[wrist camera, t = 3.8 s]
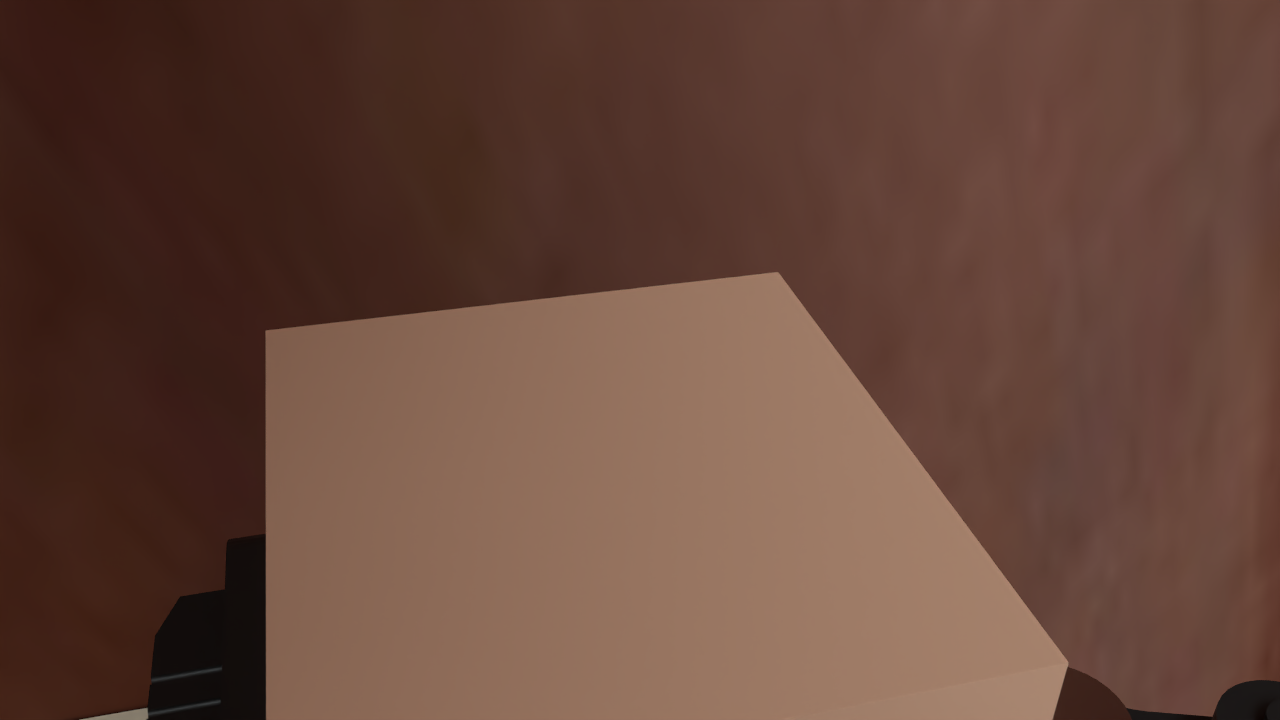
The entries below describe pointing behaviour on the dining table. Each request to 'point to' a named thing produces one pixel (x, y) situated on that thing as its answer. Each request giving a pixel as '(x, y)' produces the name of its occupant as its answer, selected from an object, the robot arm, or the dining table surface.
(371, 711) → the top block
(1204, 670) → the dining table surface
